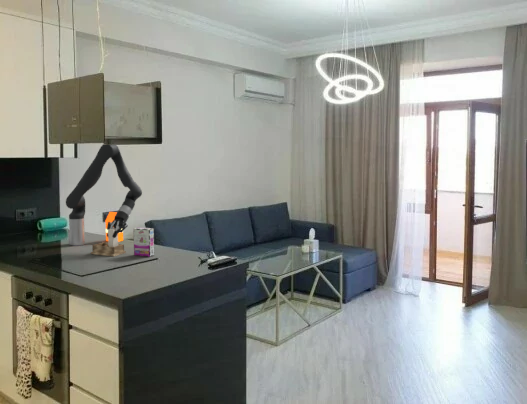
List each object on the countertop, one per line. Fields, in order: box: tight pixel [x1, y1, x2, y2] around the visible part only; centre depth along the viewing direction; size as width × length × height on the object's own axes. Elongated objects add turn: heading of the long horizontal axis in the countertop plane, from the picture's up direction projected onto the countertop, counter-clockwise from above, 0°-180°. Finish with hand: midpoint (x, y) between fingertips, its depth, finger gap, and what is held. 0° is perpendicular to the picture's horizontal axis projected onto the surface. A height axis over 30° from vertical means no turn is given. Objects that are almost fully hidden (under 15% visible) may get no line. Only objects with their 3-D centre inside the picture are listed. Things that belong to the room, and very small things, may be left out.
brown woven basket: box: [90, 242, 127, 257], centre depth 291 cm, size 17×11×5 cm, turn 68°
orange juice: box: [105, 211, 124, 243], centre depth 330 cm, size 8×9×20 cm
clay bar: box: [107, 228, 119, 247], centre depth 289 cm, size 4×4×12 cm
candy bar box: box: [133, 227, 155, 258], centre depth 286 cm, size 11×5×16 cm, turn 71°
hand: (110, 236), depth 287 cm, fingers closed on clay bar, 3 cm apart
